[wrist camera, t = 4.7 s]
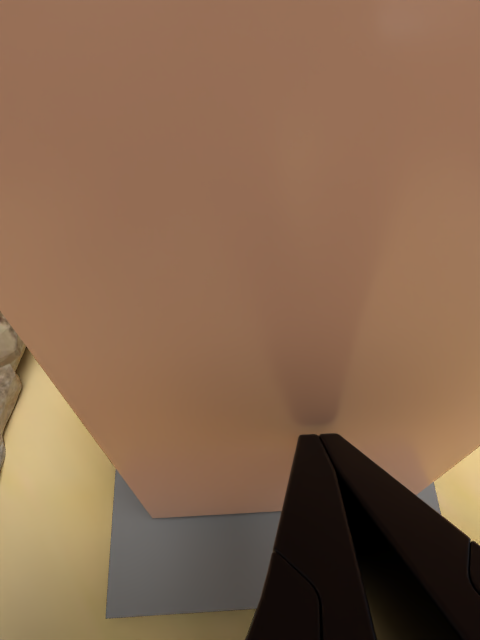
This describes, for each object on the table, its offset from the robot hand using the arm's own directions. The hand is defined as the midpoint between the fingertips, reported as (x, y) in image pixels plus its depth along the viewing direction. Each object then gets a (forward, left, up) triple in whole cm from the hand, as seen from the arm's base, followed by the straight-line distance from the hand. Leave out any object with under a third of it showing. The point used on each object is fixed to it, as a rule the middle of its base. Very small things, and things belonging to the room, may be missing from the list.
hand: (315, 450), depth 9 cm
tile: (0, 0, -7) cm, 7 cm away
